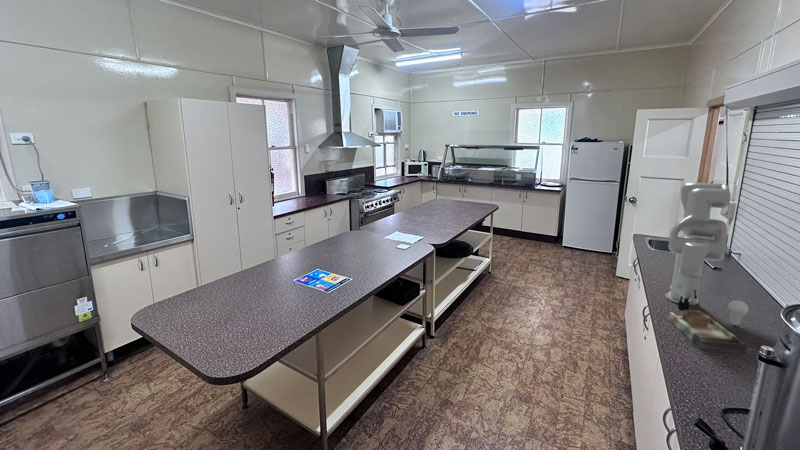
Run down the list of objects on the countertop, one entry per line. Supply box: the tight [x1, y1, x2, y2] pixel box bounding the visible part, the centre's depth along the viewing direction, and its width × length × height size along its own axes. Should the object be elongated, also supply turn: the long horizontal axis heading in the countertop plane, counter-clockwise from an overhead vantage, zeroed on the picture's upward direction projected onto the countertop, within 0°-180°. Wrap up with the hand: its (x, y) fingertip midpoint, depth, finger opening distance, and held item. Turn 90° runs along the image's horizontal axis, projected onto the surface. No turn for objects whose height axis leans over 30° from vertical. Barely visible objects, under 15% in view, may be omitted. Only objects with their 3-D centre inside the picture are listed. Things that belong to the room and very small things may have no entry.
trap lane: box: [668, 312, 748, 354], centre depth 140 cm, size 23×14×4 cm, turn 169°
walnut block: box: [682, 309, 710, 327], centre depth 146 cm, size 6×6×4 cm
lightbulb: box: [727, 300, 749, 326], centre depth 146 cm, size 6×6×11 cm
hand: (682, 309), depth 154 cm, fingers closed
